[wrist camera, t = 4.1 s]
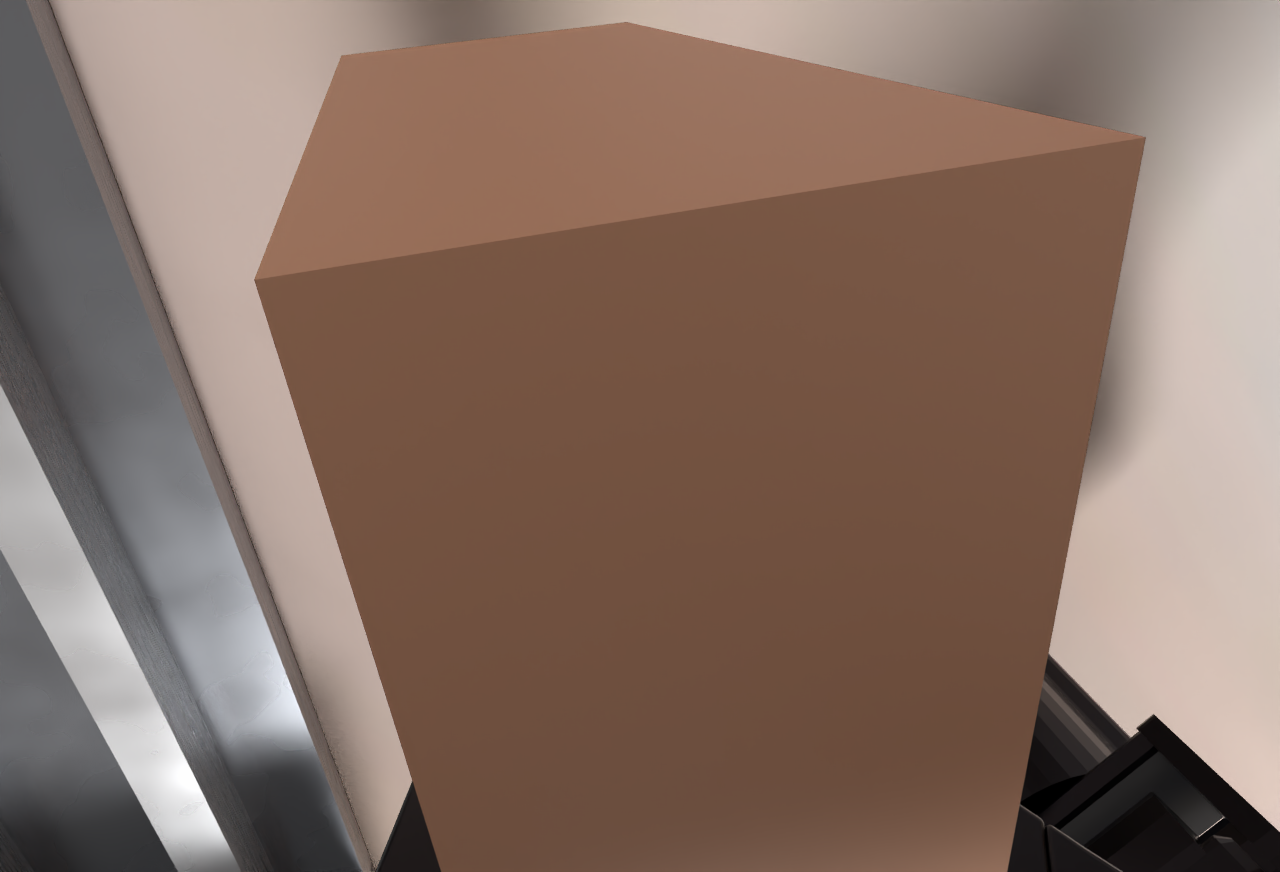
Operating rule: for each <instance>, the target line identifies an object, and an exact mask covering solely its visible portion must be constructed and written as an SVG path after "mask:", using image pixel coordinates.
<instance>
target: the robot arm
mask: <svg viewBox="0 0 1280 872" xmlns="http://www.w3.org/2000/svg"><path fill="white" fill-rule="evenodd" d="M1137 730H1138V731H1139V732H1137V733H1136V734H1135V735H1134V736H1133V737H1130V736H1129V735H1128V734H1127V733H1126V732H1125V731H1124V730H1123V729H1122V728H1121V727H1120V726H1119V725H1118V724H1117V723H1116V722H1115V721H1114V720H1113V719H1112V718H1111V717H1110V716H1109V715H1108V714H1107V713H1106V712H1105V711H1104V710H1103V709H1102V708H1101V707H1100V706H1099V705H1098V704H1097V703H1096V702H1095V701H1094V700H1093V699H1092V697H1091V696H1090V695H1089V694H1088V693H1087V692H1086V691H1085V690H1084V689H1083V688H1082V687H1081V686H1080V685H1079V684H1078V683H1077V682H1076V681H1075V680H1074V679H1073V678H1072V677H1071V676H1070V675H1069V674H1068V673H1067V672H1066V671H1065V670H1064V669H1063V668H1062V667H1061V666H1060V665H1059V664H1058V663H1057V662H1056V661H1055V660H1054V659H1053V658H1052V657H1051V656H1050V655H1049V653H1048V658H1047V663H1046V668H1045V674H1044V679H1043V684H1042V690H1041V695H1040V700H1039V705H1038V711H1037V716H1036V721H1035V727H1034V732H1033V737H1032V742H1031V748H1030V753H1029V758H1028V764H1027V769H1026V774H1025V780H1024V785H1023V790H1022V795H1021V801H1020V806H1019V811H1018V817H1017V822H1016V827H1015V833H1014V838H1013V843H1012V848H1011V854H1010V859H1009V864H1008V870H1007V872H1280V832H1279V831H1278V830H1277V829H1276V828H1275V827H1274V826H1272V825H1271V824H1270V823H1269V822H1268V821H1267V820H1266V819H1265V818H1264V817H1263V816H1262V815H1261V814H1260V813H1259V812H1258V811H1256V810H1255V809H1254V808H1253V807H1252V806H1251V805H1250V804H1249V803H1248V802H1247V801H1246V800H1245V799H1244V798H1243V797H1242V796H1240V795H1239V794H1238V793H1237V792H1236V791H1235V790H1234V789H1233V788H1232V787H1231V786H1230V785H1229V784H1228V783H1227V782H1226V781H1224V780H1223V779H1222V778H1221V777H1220V776H1219V775H1218V774H1217V773H1216V772H1215V771H1214V770H1213V769H1212V768H1211V767H1210V766H1208V765H1207V764H1206V763H1205V762H1204V761H1203V760H1202V759H1201V758H1200V757H1199V756H1198V755H1197V754H1196V753H1195V752H1194V751H1192V750H1191V749H1190V748H1189V747H1188V746H1187V745H1186V744H1185V743H1184V742H1183V741H1182V740H1181V739H1180V738H1179V737H1177V736H1176V735H1175V734H1174V733H1173V732H1172V731H1171V730H1170V729H1169V728H1168V727H1167V726H1166V725H1165V724H1164V723H1163V722H1161V721H1160V720H1159V719H1158V718H1157V717H1156V716H1155V715H1154V714H1153V715H1152V716H1150V717H1149V718H1148V719H1147V720H1146V721H1144V722H1143V723H1142V724H1141V725H1139V726H1138V727H1137ZM1221 818H1223V819H1222V820H1221V821H1219V820H1220V819H1221ZM1217 821H1219V822H1218V823H1217V824H1215V823H1216V822H1217ZM1214 824H1215V825H1214ZM1212 825H1214V826H1213V827H1212V828H1210V827H1211V826H1212ZM1208 828H1210V829H1209V830H1208V831H1206V830H1207V829H1208ZM1204 831H1206V832H1205V833H1204V834H1202V833H1203V832H1204ZM1201 834H1202V835H1201ZM1199 835H1201V836H1200V837H1199ZM376 872H441V869H440V866H439V863H438V860H437V857H436V853H435V850H434V847H433V844H432V841H431V838H430V834H429V831H428V828H427V825H426V822H425V819H424V815H423V812H422V809H421V806H420V803H419V800H418V796H417V793H416V790H415V787H414V784H413V781H412V783H411V786H410V788H409V790H408V793H407V795H406V798H405V800H404V803H403V805H402V808H401V810H400V813H399V815H398V818H397V820H396V822H395V825H394V827H393V830H392V832H391V835H390V837H389V840H388V842H387V845H386V847H385V849H384V852H383V854H382V857H381V859H380V862H379V864H378V867H377V869H376Z"/></svg>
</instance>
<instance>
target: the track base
mask: <svg viewBox="0 0 1280 872" xmlns="http://www.w3.org/2000/svg"><path fill="white" fill-rule="evenodd" d="M0 872H375V870H374V867H373V864H372V862H371V859H370V856H369V854H368V851H367V848H366V846H365V843H364V840H363V838H362V835H361V832H360V830H359V827H358V824H357V822H356V819H355V817H354V814H353V811H352V809H351V806H350V803H349V801H348V798H347V795H346V793H345V790H344V787H343V785H342V782H341V779H340V777H339V774H338V771H337V769H336V766H335V763H334V761H333V758H332V755H331V753H330V750H329V747H328V745H327V742H326V739H325V737H324V734H323V731H322V729H321V726H320V723H319V721H318V718H317V715H316V713H315V710H314V707H313V705H312V702H311V699H310V697H309V694H308V691H307V689H306V686H305V683H304V681H303V678H302V675H301V673H300V670H299V667H298V665H297V662H296V659H295V657H294V654H293V651H292V649H291V646H290V643H289V641H288V638H287V635H286V633H285V630H284V627H283V625H282V622H281V619H280V617H279V614H278V611H277V609H276V606H275V603H274V601H273V598H272V595H271V593H270V590H269V587H268V585H267V582H266V579H265V577H264V574H263V572H262V569H261V566H260V564H259V561H258V558H257V556H256V553H255V550H254V548H253V545H252V542H251V540H250V537H249V534H248V532H247V529H246V526H245V524H244V521H243V518H242V516H241V513H240V510H239V508H238V505H237V502H236V500H235V497H234V494H233V492H232V489H231V486H230V484H229V481H228V478H227V476H226V473H225V470H224V468H223V465H222V462H221V460H220V457H219V454H218V452H217V449H216V446H215V444H214V441H213V438H212V436H211V433H210V430H209V428H208V425H207V422H206V420H205V417H204V414H203V412H202V409H201V406H200V404H199V401H198V398H197V396H196V393H195V390H194V388H193V385H192V382H191V380H190V377H189V374H188V372H187V369H186V366H185V364H184V361H183V358H182V356H181V353H180V350H179V348H178V345H177V342H176V340H175V337H174V334H173V332H172V329H171V327H170V324H169V321H168V319H167V316H166V313H165V311H164V308H163V305H162V303H161V300H160V297H159V295H158V292H157V289H156V287H155V284H154V281H153V279H152V276H151V273H150V271H149V268H148V265H147V263H146V260H145V257H144V255H143V252H142V249H141V247H140V244H139V241H138V239H137V236H136V233H135V231H134V228H133V225H132V223H131V220H130V217H129V215H128V212H127V209H126V207H125V204H124V201H123V199H122V196H121V193H120V191H119V188H118V185H117V183H116V180H115V177H114V175H113V172H112V169H111V167H110V164H109V161H108V159H107V156H106V153H105V151H104V148H103V145H102V143H101V140H100V137H99V135H98V132H97V129H96V127H95V124H94V121H93V119H92V116H91V113H90V111H89V108H88V105H87V103H86V100H85V97H84V95H83V92H82V89H81V87H80V84H79V82H78V79H77V76H76V74H75V71H74V68H73V66H72V63H71V60H70V58H69V55H68V52H67V50H66V47H65V44H64V42H63V39H62V36H61V34H60V31H59V28H58V26H57V23H56V20H55V18H54V15H53V12H52V10H51V7H50V4H49V2H48V0H0Z"/></svg>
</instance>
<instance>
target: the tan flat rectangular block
mask: <svg viewBox="0 0 1280 872" xmlns="http://www.w3.org/2000/svg"><path fill="white" fill-rule="evenodd" d="M1145 139H1146V137H1142V136H1137V135H1133V134H1128V133H1124V132H1119V131H1115V130H1110V129H1106V128H1101V127H1097V126H1092V125H1088V124H1083V123H1079V122H1074V121H1070V120H1065V119H1061V118H1056V117H1052V116H1047V115H1043V114H1038V113H1034V112H1029V111H1025V110H1020V109H1016V108H1011V107H1007V106H1002V105H998V104H993V103H989V102H984V101H980V100H975V99H971V98H966V97H962V96H957V95H953V94H948V93H944V92H939V91H935V90H930V89H925V88H921V87H916V86H912V85H907V84H903V83H898V82H894V81H889V80H885V79H880V78H876V77H871V76H867V75H862V74H858V73H853V72H849V71H844V70H840V69H835V68H831V67H826V66H822V65H817V64H813V63H808V62H804V61H799V60H795V59H790V58H786V57H781V56H777V55H772V54H768V53H763V52H759V51H754V50H750V49H745V48H741V47H736V46H732V45H727V44H723V43H718V42H714V41H709V40H704V39H700V38H695V37H691V36H686V35H682V34H677V33H673V32H668V31H664V30H659V29H655V28H650V27H646V26H641V25H637V24H632V23H628V22H624V23H615V24H607V25H598V26H590V27H581V28H573V29H564V30H556V31H547V32H539V33H530V34H522V35H513V36H505V37H496V38H487V39H479V40H470V41H462V42H453V43H445V44H436V45H428V46H419V47H411V48H402V49H394V50H385V51H376V52H368V53H359V54H351V55H342V56H341V58H340V61H339V63H338V66H337V69H336V71H335V74H334V76H333V79H332V81H331V84H330V87H329V89H328V92H327V94H326V97H325V99H324V102H323V105H322V107H321V110H320V112H319V115H318V117H317V120H316V123H315V125H314V128H313V130H312V133H311V135H310V138H309V141H308V143H307V146H306V148H305V151H304V153H303V156H302V159H301V161H300V164H299V166H298V169H297V171H296V174H295V177H294V179H293V182H292V184H291V187H290V189H289V192H288V195H287V197H286V200H285V202H284V205H283V207H282V210H281V213H280V215H279V218H278V220H277V223H276V225H275V228H274V231H273V233H272V236H271V238H270V241H269V243H268V246H267V249H266V251H265V254H264V256H263V259H262V261H261V264H260V267H259V269H258V272H257V274H256V277H255V279H254V280H255V284H256V287H257V290H258V293H259V296H260V299H261V302H262V306H263V309H264V312H265V315H266V318H267V321H268V325H269V328H270V331H271V334H272V337H273V341H274V344H275V347H276V350H277V353H278V356H279V359H280V363H281V366H282V369H283V372H284V375H285V378H286V382H287V385H288V388H289V391H290V394H291V397H292V401H293V404H294V407H295V410H296V413H297V416H298V420H299V423H300V426H301V429H302V432H303V435H304V439H305V442H306V445H307V448H308V451H309V454H310V458H311V461H312V464H313V467H314V470H315V473H316V477H317V480H318V483H319V486H320V489H321V492H322V496H323V499H324V502H325V505H326V508H327V511H328V515H329V518H330V521H331V524H332V527H333V530H334V534H335V537H336V540H337V543H338V546H339V549H340V553H341V556H342V559H343V562H344V565H345V568H346V572H347V575H348V578H349V581H350V584H351V587H352V591H353V594H354V597H355V600H356V603H357V606H358V610H359V613H360V616H361V619H362V622H363V625H364V629H365V632H366V635H367V638H368V641H369V644H370V648H371V651H372V654H373V657H374V660H375V663H376V667H377V670H378V673H379V676H380V679H381V682H382V686H383V689H384V692H385V695H386V698H387V701H388V705H389V708H390V711H391V714H392V717H393V720H394V724H395V727H396V730H397V733H398V736H399V739H400V743H401V746H402V749H403V752H404V755H405V758H406V762H407V765H408V768H409V771H410V774H411V777H412V781H413V784H414V787H415V790H416V793H417V796H418V800H419V803H420V806H421V809H422V812H423V815H424V819H425V822H426V825H427V828H428V831H429V834H430V838H431V841H432V844H433V847H434V850H435V853H436V857H437V860H438V863H439V866H440V869H441V872H1007V870H1008V864H1009V859H1010V854H1011V848H1012V843H1013V838H1014V833H1015V827H1016V822H1017V817H1018V811H1019V806H1020V801H1021V795H1022V790H1023V785H1024V780H1025V774H1026V769H1027V764H1028V758H1029V753H1030V748H1031V742H1032V737H1033V732H1034V727H1035V721H1036V716H1037V711H1038V705H1039V700H1040V695H1041V690H1042V684H1043V679H1044V674H1045V668H1046V663H1047V658H1048V652H1049V647H1050V642H1051V637H1052V631H1053V626H1054V621H1055V615H1056V610H1057V605H1058V599H1059V594H1060V589H1061V584H1062V578H1063V573H1064V568H1065V562H1066V557H1067V552H1068V547H1069V541H1070V536H1071V531H1072V525H1073V520H1074V515H1075V509H1076V504H1077V499H1078V494H1079V488H1080V483H1081V478H1082V472H1083V467H1084V462H1085V456H1086V451H1087V446H1088V441H1089V435H1090V430H1091V425H1092V419H1093V414H1094V409H1095V404H1096V398H1097V393H1098V388H1099V382H1100V377H1101V372H1102V366H1103V361H1104V356H1105V351H1106V345H1107V340H1108V335H1109V329H1110V324H1111V319H1112V314H1113V308H1114V303H1115V298H1116V292H1117V287H1118V282H1119V276H1120V271H1121V266H1122V261H1123V255H1124V250H1125V245H1126V239H1127V234H1128V229H1129V223H1130V218H1131V213H1132V208H1133V202H1134V197H1135V192H1136V186H1137V181H1138V176H1139V171H1140V165H1141V160H1142V155H1143V149H1144V144H1145Z"/></svg>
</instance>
